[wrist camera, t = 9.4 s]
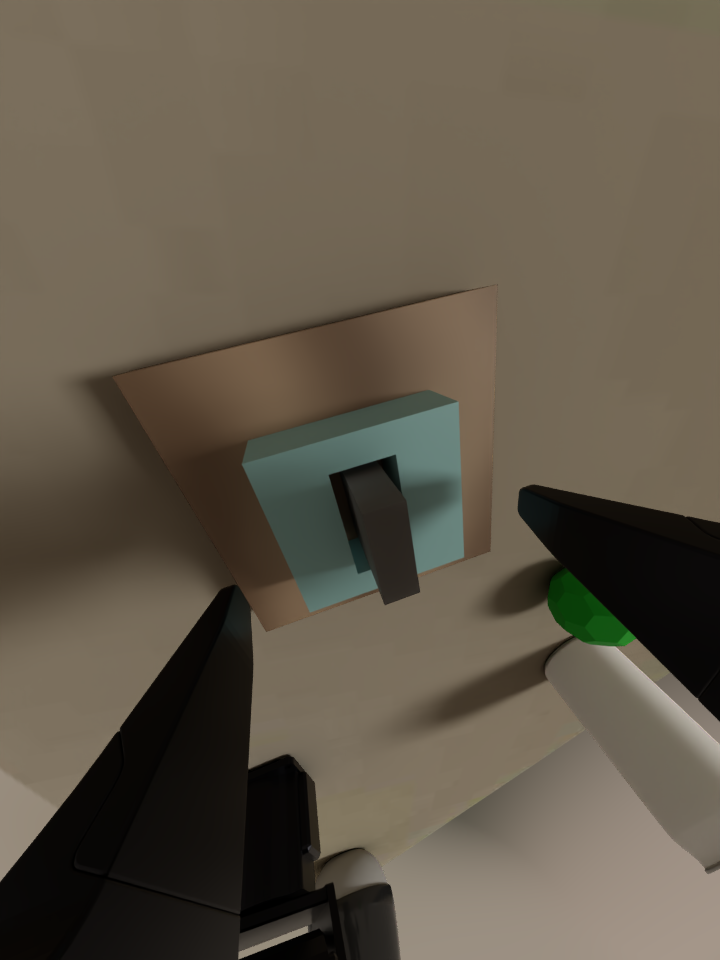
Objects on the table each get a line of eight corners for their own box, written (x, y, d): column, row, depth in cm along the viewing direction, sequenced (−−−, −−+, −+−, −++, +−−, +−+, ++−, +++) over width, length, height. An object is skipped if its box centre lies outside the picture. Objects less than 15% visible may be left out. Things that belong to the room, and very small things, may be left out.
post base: (267, 606, 15) (263, 730, 11) (134, 369, 9) (-9, 412, 5) (473, 534, 17) (551, 614, 12) (471, 289, 11) (622, 259, 6)
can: (531, 681, 28) (681, 888, 18) (559, 635, 25) (756, 850, 15) (582, 669, 30) (746, 851, 19) (613, 625, 27) (824, 810, 17)
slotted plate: (305, 575, 13) (309, 612, 11) (247, 440, 10) (241, 464, 8) (440, 529, 14) (463, 557, 12) (429, 389, 11) (458, 401, 9)
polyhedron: (530, 568, 20) (597, 631, 16) (594, 538, 20) (676, 592, 16) (532, 610, 22) (590, 674, 18) (589, 583, 23) (659, 640, 18)
